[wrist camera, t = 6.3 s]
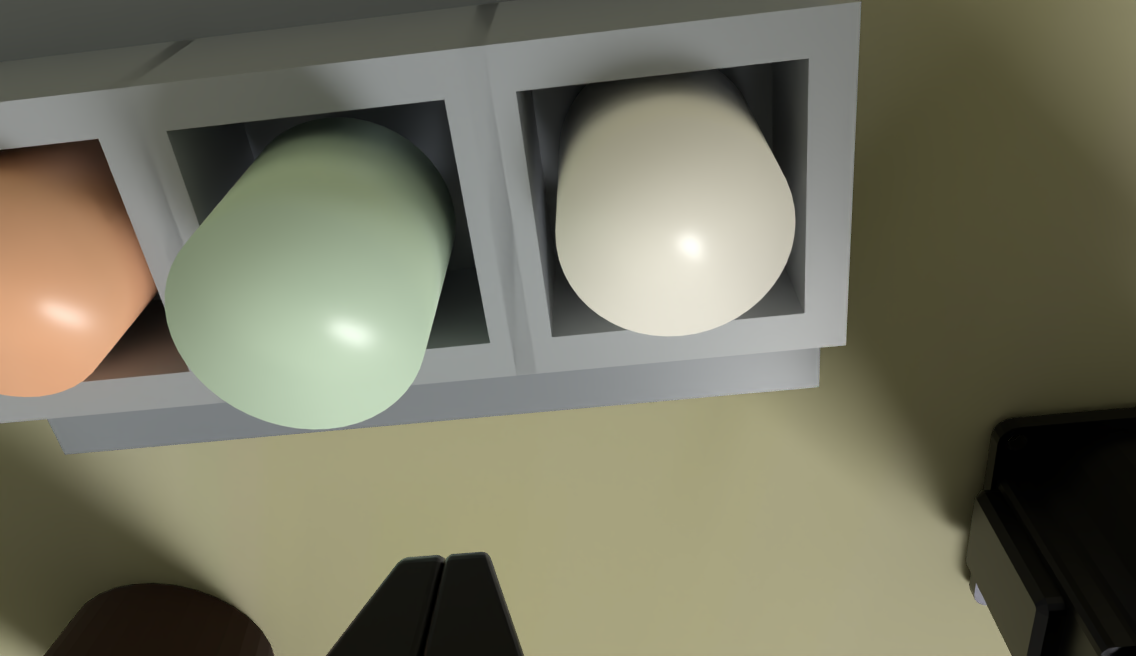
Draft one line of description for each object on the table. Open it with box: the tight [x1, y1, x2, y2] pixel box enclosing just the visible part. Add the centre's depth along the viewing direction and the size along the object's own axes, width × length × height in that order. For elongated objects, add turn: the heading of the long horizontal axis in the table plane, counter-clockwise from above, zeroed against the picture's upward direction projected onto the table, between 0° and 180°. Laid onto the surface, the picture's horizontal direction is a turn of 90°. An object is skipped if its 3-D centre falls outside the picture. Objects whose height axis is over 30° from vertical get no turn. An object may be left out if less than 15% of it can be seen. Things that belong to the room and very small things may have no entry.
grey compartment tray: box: [0, 0, 861, 454], centre depth 19 cm, size 19×13×4 cm
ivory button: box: [555, 69, 795, 337], centre depth 17 cm, size 4×4×4 cm
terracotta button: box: [0, 139, 158, 397], centre depth 18 cm, size 4×4×4 cm
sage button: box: [165, 117, 456, 429], centre depth 16 cm, size 4×4×4 cm
